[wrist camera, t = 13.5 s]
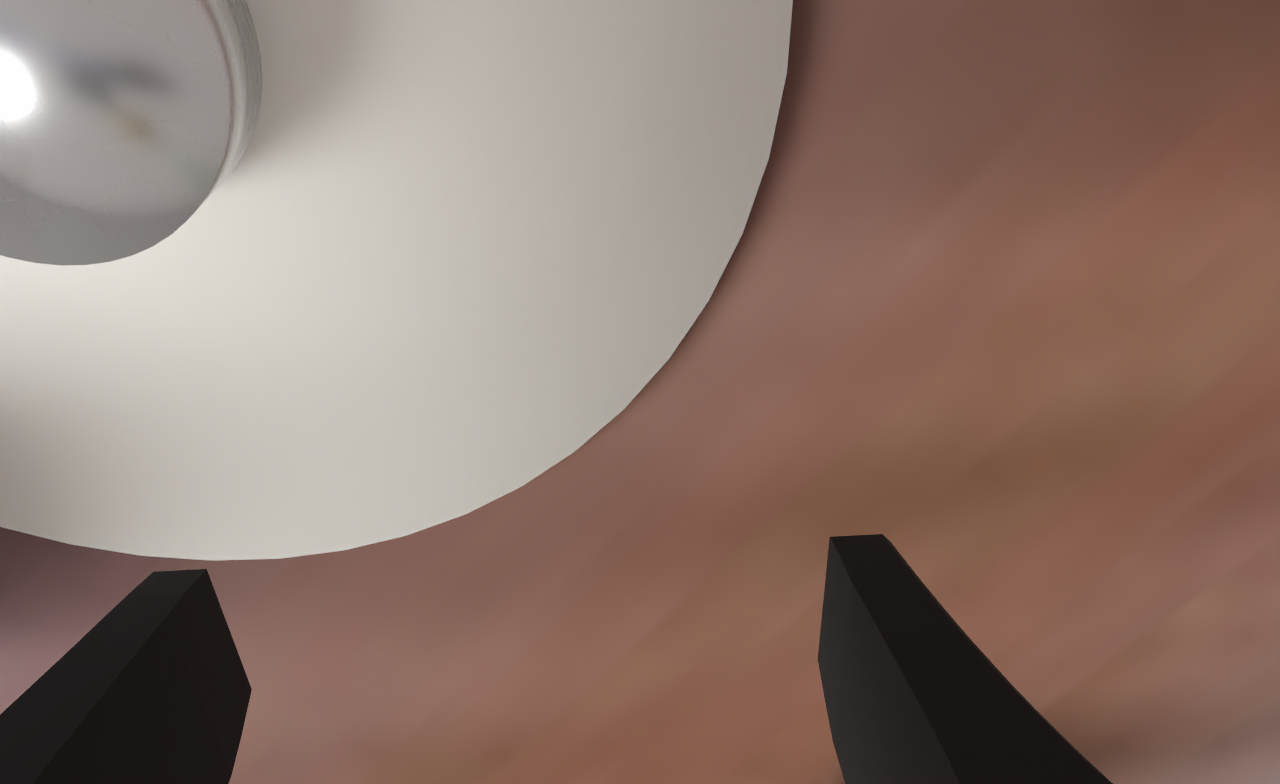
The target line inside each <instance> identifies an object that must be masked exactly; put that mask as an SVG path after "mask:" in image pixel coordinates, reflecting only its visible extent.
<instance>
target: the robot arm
mask: <svg viewBox="0 0 1280 784" xmlns="http://www.w3.org/2000/svg"><path fill="white" fill-rule="evenodd" d="M818 663H819V668H820V674H821V680H822V685H823V691H824V697H825V702H826V708H827V713H828V718H829V723H830V728H831V733H832V739H833V743H834V746H835V750H836V753H837V757H838V760H839V763H840V767H841V770H842V773H843V777H844V780H845V783H846V784H1113V783H1111V782H1110V781H1109V780H1108V779H1107V778H1106V777H1105V776H1104V775H1103V774H1102V773H1100V772H1099V771H1098V770H1097V769H1096V768H1095V767H1094V766H1093V765H1092V764H1091V763H1090V762H1089V761H1088V760H1086V759H1085V758H1084V757H1083V756H1082V755H1081V754H1080V753H1079V752H1078V751H1077V750H1076V749H1075V748H1074V747H1073V746H1072V745H1071V744H1070V743H1069V742H1068V741H1067V740H1066V739H1065V738H1064V737H1063V736H1062V735H1061V734H1060V733H1059V732H1058V731H1057V730H1056V729H1055V728H1054V727H1053V726H1052V725H1051V724H1050V723H1049V722H1048V721H1047V720H1046V719H1045V718H1044V717H1042V716H1041V715H1040V714H1039V713H1038V712H1037V711H1036V710H1035V709H1034V708H1033V706H1032V705H1031V704H1030V703H1029V702H1028V701H1027V700H1026V699H1025V698H1024V697H1023V696H1022V695H1021V694H1020V693H1019V692H1018V691H1017V690H1016V689H1015V688H1014V687H1013V686H1012V685H1011V683H1010V682H1009V681H1008V680H1007V679H1006V678H1005V677H1004V676H1003V675H1002V674H1001V672H1000V671H999V670H998V669H997V668H996V667H995V666H994V665H993V664H992V663H991V661H990V660H989V659H988V658H987V657H986V656H985V655H984V654H983V653H982V652H981V650H980V649H979V648H978V647H977V646H976V645H975V644H974V643H973V642H972V641H971V639H970V638H969V637H968V636H967V635H966V634H965V633H964V631H963V630H962V629H961V628H960V627H959V626H958V624H957V623H956V622H955V621H954V620H953V619H952V617H951V616H950V615H949V614H948V613H947V611H946V610H945V609H944V608H943V607H942V605H941V604H940V603H939V602H938V601H937V600H936V598H935V597H934V596H933V595H932V594H931V592H930V591H929V590H928V589H927V587H926V586H925V585H924V584H923V582H922V581H921V580H920V579H919V577H918V576H917V575H916V574H915V572H914V571H913V570H912V569H911V567H910V566H909V565H908V564H907V562H906V561H905V560H904V559H903V557H902V556H901V555H900V554H899V552H898V551H897V550H896V548H895V547H894V546H893V545H892V543H891V542H890V541H889V540H888V539H887V538H886V537H885V536H884V535H882V534H877V535H858V536H838V537H830V540H829V550H828V560H827V571H826V581H825V591H824V601H823V611H822V622H821V632H820V642H819V652H818ZM251 690H252V689H251V686H250V684H249V681H248V678H247V676H246V673H245V670H244V668H243V665H242V662H241V660H240V657H239V654H238V652H237V649H236V646H235V644H234V641H233V638H232V636H231V633H230V630H229V628H228V625H227V622H226V620H225V617H224V614H223V612H222V609H221V606H220V604H219V601H218V598H217V596H216V593H215V590H214V588H213V585H212V582H211V580H210V577H209V574H208V572H207V569H200V570H181V571H162V572H153V573H152V574H151V575H150V576H148V577H147V578H146V579H145V580H144V581H143V582H142V583H140V584H139V585H138V586H137V587H136V588H135V589H134V590H133V591H132V592H131V593H129V594H128V595H127V596H126V597H125V598H124V599H123V600H122V601H121V602H120V603H119V604H118V605H117V606H116V607H115V608H113V609H112V610H111V611H110V612H109V613H108V614H107V615H106V616H105V617H104V618H103V619H102V620H101V621H100V622H99V623H98V624H97V625H96V626H95V627H93V628H92V629H91V630H90V631H89V632H88V633H87V634H86V635H85V636H84V637H83V638H82V639H81V640H80V641H79V642H78V643H77V644H76V645H75V646H74V647H72V648H71V649H70V650H69V651H68V652H67V653H66V654H65V655H64V656H63V657H62V658H61V659H60V660H59V661H58V662H57V663H55V664H54V665H53V666H52V667H51V668H50V669H49V670H48V671H47V672H46V673H45V674H44V675H43V676H41V677H40V678H39V679H38V680H37V681H36V682H35V683H34V684H33V685H32V686H31V687H30V688H29V689H28V690H26V691H25V692H24V693H23V694H22V695H21V696H20V697H19V698H18V699H17V700H16V701H15V702H14V703H12V704H11V705H10V706H9V707H8V708H7V709H6V710H5V711H4V712H3V713H2V714H1V715H0V784H228V783H229V780H230V777H231V775H232V771H233V767H234V763H235V759H236V755H237V751H238V747H239V743H240V739H241V735H242V730H243V726H244V721H245V717H246V712H247V708H248V703H249V699H250V694H251Z"/></svg>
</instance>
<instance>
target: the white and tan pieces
mask: <svg viewBox="0 0 1280 784" xmlns="http://www.w3.org/2000/svg"><path fill="white" fill-rule="evenodd" d="M262 80H263V77H262V64H261V53H260V48H259V43H258V38H257V33H256V28H255V25H254V22H253V19H252V16H251V13H250V10H249V7H248V4H247V2H246V0H0V255H2V256H5V257H8V258H13V259H18V260H23V261H28V262H33V263H41V264H51V265H90V264H97V263H105V262H111V261H114V260H118V259H122V258H125V257H129V256H132V255H135V254H137V253H139V252H141V251H144V250H146V249H148V248H151V247H153V246H154V245H156V244H157V243H159V242H161V241H162V240H164V239H165V238H167V237H168V236H170V235H172V234H173V233H174V232H175V231H176V230H177V229H178V228H179V227H180V226H182V225H183V224H184V223H185V222H186V221H187V220H188V219H189V218H190V217H191V216H192V215H193V214H194V213H195V211H196V210H197V209H198V208H199V207H200V206H201V205H202V204H203V203H204V202H205V200H206V199H207V198H208V197H209V196H210V195H211V194H212V193H213V192H214V191H215V190H216V188H217V187H218V186H219V185H220V184H221V183H222V182H223V181H224V180H225V179H226V177H227V176H228V175H229V174H230V172H231V171H232V170H233V169H234V167H235V166H236V165H237V164H238V163H239V161H240V159H241V157H242V156H243V154H244V152H245V150H246V149H247V147H248V145H249V143H250V140H251V138H252V135H253V132H254V130H255V127H256V124H257V120H258V115H259V110H260V105H261V97H262Z"/></svg>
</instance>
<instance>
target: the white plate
mask: <svg viewBox="0 0 1280 784" xmlns="http://www.w3.org/2000/svg"><path fill="white" fill-rule="evenodd" d="M246 2H247V4H248V7H249V10H250V13H251V16H252V19H253V22H254V25H255V28H256V33H257V38H258V43H259V48H260V53H261V64H262V77H263V80H262V97H261V105H260V110H259V115H258V120H257V124H256V127H255V130H254V132H253V135H252V138H251V140H250V143H249V145H248V147H247V149H246V150H245V152H244V154H243V156H242V157H241V159H240V161H239V163H238V164H237V165H236V166H235V167H234V169H233V170H232V171H231V172H230V174H229V175H228V176H227V177H226V179H225V180H224V181H223V182H222V183H221V184H220V185H219V186H218V187H217V188H216V190H215V191H214V192H213V193H212V194H211V195H210V196H209V197H208V198H207V199H206V200H205V202H204V203H203V204H202V205H201V206H200V207H199V208H198V209H197V210H196V211H195V213H194V214H193V215H192V216H191V217H190V218H189V219H188V220H187V221H186V222H185V223H184V224H183V225H182V226H180V227H179V228H178V229H177V230H176V231H175V232H174V233H173V234H172V235H170V236H168V237H167V238H165V239H164V240H162V241H161V242H159V243H157V244H156V245H154V246H153V247H151V248H148V249H146V250H144V251H141V252H139V253H137V254H135V255H132V256H129V257H125V258H122V259H118V260H114V261H111V262H105V263H97V264H90V265H51V264H41V263H33V262H28V261H23V260H18V259H13V258H8V257H5V256H2V255H0V527H3V528H7V529H11V530H15V531H19V532H23V533H27V534H31V535H35V536H39V537H43V538H47V539H51V540H55V541H59V542H63V543H67V544H71V545H77V546H84V547H90V548H96V549H102V550H109V551H115V552H121V553H128V554H134V555H140V556H152V557H167V558H182V559H196V560H211V561H212V560H250V559H280V558H288V557H296V556H304V555H312V554H320V553H328V552H336V551H343V550H348V549H352V548H356V547H360V546H365V545H369V544H373V543H377V542H382V541H386V540H390V539H394V538H398V537H403V536H406V535H409V534H412V533H415V532H418V531H420V530H423V529H426V528H429V527H432V526H434V525H437V524H440V523H443V522H446V521H448V520H451V519H454V518H457V517H460V516H462V515H465V514H467V513H469V512H471V511H473V510H475V509H477V508H479V507H481V506H483V505H485V504H487V503H489V502H491V501H493V500H495V499H497V498H499V497H502V496H504V495H506V494H508V493H510V492H512V491H514V490H516V489H518V488H520V487H522V486H523V485H525V484H526V483H528V482H529V481H531V480H532V479H534V478H535V477H537V476H538V475H540V474H541V473H543V472H544V471H546V470H547V469H549V468H551V467H552V466H554V465H555V464H557V463H558V462H560V461H561V460H563V459H564V458H566V457H567V456H569V455H570V454H572V453H573V452H575V451H576V450H577V449H578V448H579V447H581V446H582V445H583V444H584V443H585V442H586V441H588V440H589V439H590V438H591V437H592V436H593V435H595V434H596V433H597V432H598V431H599V430H600V429H602V428H603V427H604V426H605V425H606V424H607V423H609V422H610V421H611V420H612V419H613V418H614V417H616V416H617V415H618V414H619V413H620V412H621V411H623V410H624V409H625V408H626V406H627V405H628V404H629V403H630V402H631V401H632V400H633V399H634V398H635V396H636V395H637V394H638V393H639V392H640V391H641V390H642V389H643V388H644V386H645V385H646V384H647V383H648V382H649V381H650V380H651V379H652V377H653V376H654V375H655V374H656V373H657V372H658V371H659V370H660V369H661V367H662V366H663V365H664V364H665V363H666V362H667V361H668V360H669V358H670V357H671V355H672V354H673V353H674V351H675V350H676V348H677V347H678V345H679V344H680V342H681V341H682V339H683V338H684V336H685V335H686V333H687V332H688V331H689V329H690V328H691V326H692V325H693V323H694V322H695V320H696V319H697V317H698V316H699V314H700V313H701V312H702V310H703V309H704V307H705V306H706V304H707V303H708V301H709V299H710V297H711V296H712V294H713V292H714V290H715V288H716V286H717V284H718V282H719V280H720V278H721V276H722V274H723V272H724V270H725V268H726V266H727V264H728V262H729V260H730V258H731V256H732V254H733V252H734V250H735V248H736V246H737V244H738V242H739V240H740V238H741V236H742V234H743V231H744V228H745V225H746V223H747V220H748V217H749V214H750V211H751V208H752V205H753V203H754V200H755V197H756V194H757V191H758V188H759V185H760V182H761V180H762V177H763V174H764V171H765V168H766V165H767V162H768V160H769V156H770V151H771V146H772V142H773V137H774V132H775V127H776V122H777V118H778V113H779V108H780V103H781V99H782V94H783V89H784V84H785V80H786V75H787V66H788V54H789V42H790V30H791V18H792V5H793V0H246Z"/></svg>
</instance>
